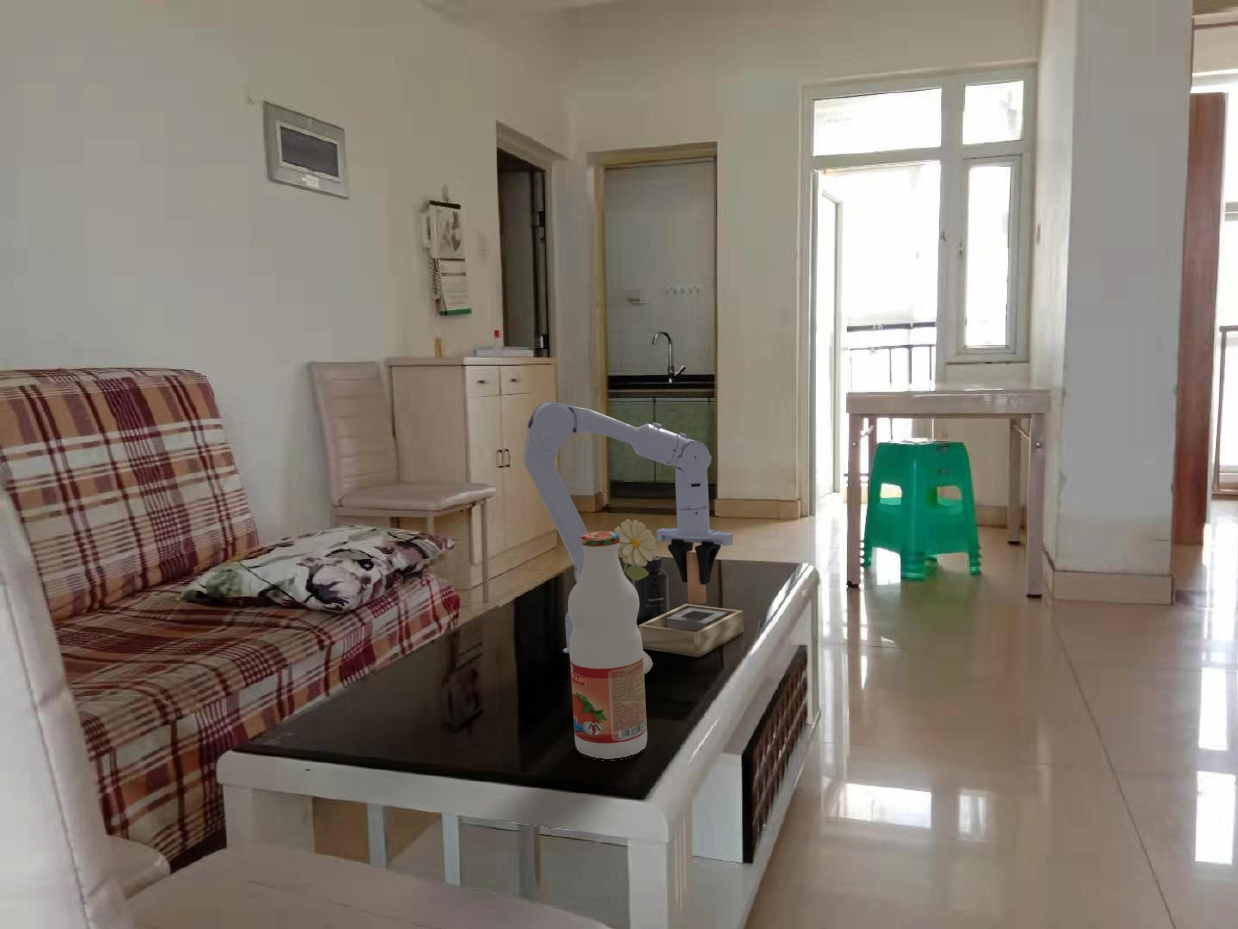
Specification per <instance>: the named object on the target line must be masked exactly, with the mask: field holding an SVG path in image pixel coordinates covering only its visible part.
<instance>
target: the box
mask: <svg viewBox="0 0 1238 929" xmlns="http://www.w3.org/2000/svg"><path fill="white" fill-rule="evenodd" d="M637 627H638V629H639V631H640V634H641V638H642V645H643V650H644V649H645V650H651V651H657V652H662V653H663V652H664V653H671V654H676V655H681V656H689V657H695V658H700V657H702V656H704V655H706V654H708V653H710V652H711V651H713V650H715V649H716V648H718V647H720V646H722V645H724V644H725V643H728V642H730V641H731V640H733V639H735V638H736V637H738V636H740V635H741V633H742V634H744V633H745V632H744V631H745V630H744V610H739V609H731V608H723V607H716V606H707V605H701V604H691V603H684V604H682V605H680V606H678V607H676V608H674V609H672V610H669V612H667V613H665V614H663V615H660V616H658V617H656V618H654V619H652V620H649V621H647V622H642V623H641V624H639V625H638V624H637ZM743 632H744V633H743ZM732 638H733V639H732Z"/></svg>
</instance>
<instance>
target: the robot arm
mask: <svg viewBox="0 0 1238 929" xmlns="http://www.w3.org/2000/svg"><path fill="white" fill-rule="evenodd" d="M588 432H593V433H595V434H598V435H602V436H605V437H608V438H610V439H611V438H612V439H614V440H618V441H620V442H623V443H627V444H630V445H631V447H632V448H633V451H634V453H635V455H637V456H641V457H643V458H646V459H649V460H652V461H655V462H657V463H659V464H660V463H661V464H664V465H666V466H673V468H675V472H674V473H675V500H676V502H675V504H676V525H677V528H659V529H656V542H657V541H659V542H663V541H668V542H669V541H671V542H670V544H668V545H667V550H668V551H669V552H670V554H671V556H672V558H673V560H674V562H675V564H676V566H677V568H678V571H679V574H680V578H681V582H682V583H684V584H685V583H687V559H686V552H688V551H693V549H694V551H696V554H697V558H698V563H699V575H700V583H701V584H702V585H705V584H706V585H707V584H709V583H710V580H711V575H712V570H713V567H714V563H715V561H716V558H717V555H718V553H719V552H720V549H721V546H725V547H728V546H732V545H733V544H734V541H733V539H734V538H733V536H734V535H733V533H732V532H723V531H718V530H715V529H714V530H713V529H710V528H711V527H710V526H711V525H710V503H709V502H710V501H709V499H710V498H709V483H708V468H709V466H710V465H711V463H712V458H713V457H712V455H710V451H709V449H708V447H707V446H706V445H705V443H703V442H701V441H699V440H696V439H695V440H694V439H691V438H689V437H687V434H685V433H684V432H683V433H682V432H679V434H678V433H675V432H672V431H670V430H667V429H664V428H662V424H660V423H657V422H652V424H650V423H645V424H643V425H640V426H639V427H636V426H634V425H630V424H628V423H625V422H623V421H620V420H617V419H616V418H613V417H610V416H608V415H605V414H603V413H600V412H597V411H595V410H592V409H589V408H583V407H578V406H574V405H568V404H563V403H560V402H559V403H558V402H555V401H545V402H542V403H540V404H539V405H537V406H536V407H535V409H534V410H533V412H532V413H531V416H530V417H529V420H528V422H527V425H526V436H525V437H526V438H525V445H524V446H525V447H524V454H523V463H524V466H525V468H526V470H527V472H528V474H529V476H530V478H531V480H532V482H533V484H534V486H535V488H536V490H537V492H538V494H539V496H540V499H541V501H542V502H543V504H544V507H545V508H546V510H547V512H548V515H549V516H550V519H551V520H552V523H553V524H554V526H555V528H556V530H557V532H558V534H559V536H560V538H561V541H562V543H563V544H564V546H565V548H566V551H567V553H568V554H569V557H570V560H571V562H572V563H573V566H574V567H573V568H574V569H573V570H574V574H573V575H574V579H575V581H576V583H577V582H578V580H579V578H580V575H581V573H582V568H583V563H584V549H582V545H581V536H582V535H583V534H586V533H589V532H588V530H587V528H586V526H585V524H584V522H583V520H582V518H581V516H580V513H579V511H578V509H577V507H576V506H575V504H574V502H573V499H572V498H571V495H570V494H569V493H570V492H569V491H568V490H567V487H566V485H565V483H564V481H563V479H562V478H561V475H560V473H559V472H558V471H559V470H558V469H557V467H556V465H555V460H556V457H557V456H558V452H559V450H560V447H561V445H562V444H564V442H565V441H566V440H567V438H568V437H569V436H570V435H571V433H572V434H573V433H574V434H576V435H580V434H583V433H588ZM694 543H696V544H698V543H699V545H696V546H694ZM693 547H694V548H693ZM564 619H565V620H564V621H565V622H564V623H565V639H566V647H565V648H564V649H563V650H562V651H563V653H565V654H570V637H571V634H572V631H573V623H572V620H571V617H570V614H569V610H567V612H566V613H565V617H564Z"/></svg>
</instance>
